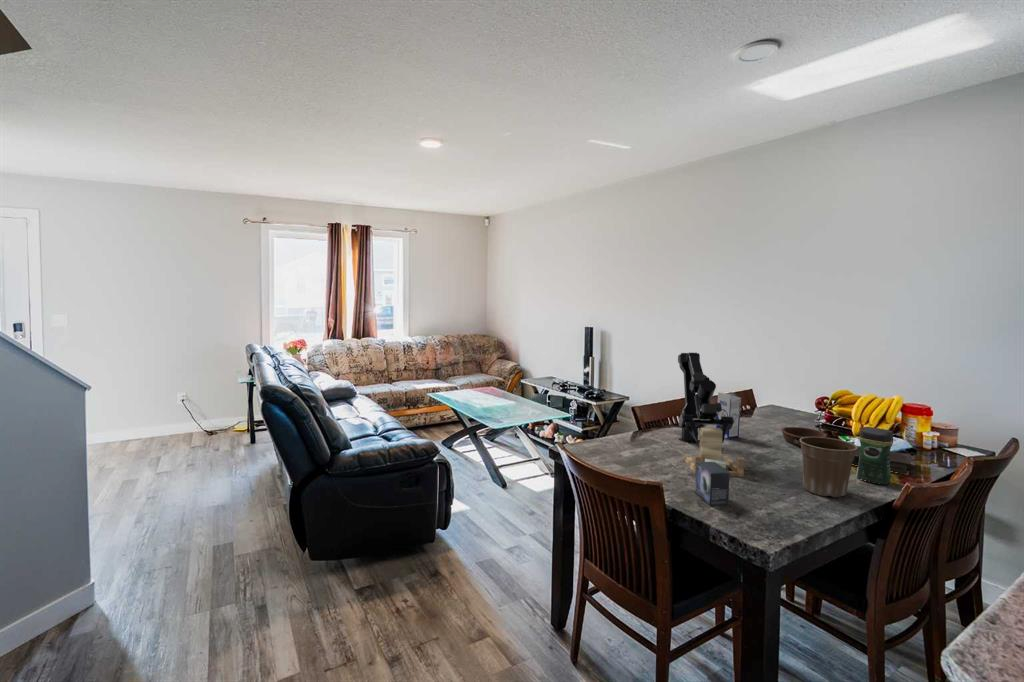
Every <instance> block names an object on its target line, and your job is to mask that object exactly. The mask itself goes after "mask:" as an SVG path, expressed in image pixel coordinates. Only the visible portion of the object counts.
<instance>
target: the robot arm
mask: <svg viewBox="0 0 1024 682" xmlns="http://www.w3.org/2000/svg"><path fill="white" fill-rule="evenodd" d="M700 356H701V355H700V353H698V352H681V353H680V354H678V355H677V363H678V365H679V370H681V372H682V374H683V384H684V385H683V387H684V407H683V408H682V410H681V413H680V416H679V419H678V426H679V427H680V428H681V437H679V438H678V440H679V441H682V442H684V441H685V442H684V443H687V442H688V443H687V444H691V442H694V443H699V442H698V441H700V439H699V430H698V429H700V428H703V425H706V426H707V425H711V426H712V425H713V426H716V425H719V427H720V429H721V430H722V431H723V433H722V444H724V442H725V438H724V437H725V432H726V431H728V430H730V429H731V428H732V426H733V424H734V419H733V418H732V417H731V416H722V417H721V419H720V420H717V419H715V418H717V412H721V411H722V406H721V403H718V402H716V403H712V401H711V399H712V398H713V395H714V393H715V392H716V388H717V384H716V383H715V382H714V381H713V380H712V379H710V377H708V376H707V375H705V374H704V372H703V371H704V370H703V368H702V363H701V357H700Z"/></svg>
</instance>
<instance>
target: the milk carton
mask: <svg viewBox="0 0 1024 682" xmlns="http://www.w3.org/2000/svg"><path fill="white" fill-rule="evenodd" d="M717 403H721V406H722V411H721V412H717V413H716V420H720V419H721V417H722V416H731V417H732V418H733V419H734V424H733V426H732V428H731V429H730V430H728V431H726V432H725V437H724V439H725V438H727V439H726V440H729V439H728V438H734V439H737V438H736V437H740V436H739V435H740V421H741V403H742V397H739V396H737V394H736V393H734V392H728V393H724V392H720V391H719V392H717ZM715 427H716V428H720V427H719V425H715Z"/></svg>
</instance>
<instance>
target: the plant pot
mask: <svg viewBox="0 0 1024 682" xmlns="http://www.w3.org/2000/svg"><path fill="white" fill-rule="evenodd" d="M800 442H801V446H800V449H801V450H800V452H801V453H802V480H803V481H802V482H803V483H802V484H803V485H802V486H803V488H804V490H806V491H807V492H809V493H811V494H813V493H814V495H816V494H817V495H818V496H822V497H828V496H829V497H832V498H842V497H841V496H843V497H845V496H846V495H847V491H848V488H849V487H848V486H849V481H850V476H851V471H852V467H853V466H852V461H853V460H854V456H855V451H856V450H857V449H858V447H857V446H858V445H856V444H854V443H851V442H849V441H846V440H841V439H838V438H832V437H803V438H800ZM817 495H816V496H817Z"/></svg>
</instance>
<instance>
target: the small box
mask: <svg viewBox="0 0 1024 682" xmlns="http://www.w3.org/2000/svg"><path fill="white" fill-rule="evenodd" d="M729 471H730V470H728V471H727V470H726V469H724V468H723V467H722V466H720V465H719V464H717V463H716V462H715V461H712V462H697V467H696V475H695V494H696V495H697V496H699V498H701V500H702V501H704V502H705V503H706V504H707V505H708V506H709V507H718V506H719V507H720V506H723V507H724V506H726V507H727V506H729V505H730V500H729V499H730V498H729V494H730V478H731V476H730V472H729Z"/></svg>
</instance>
